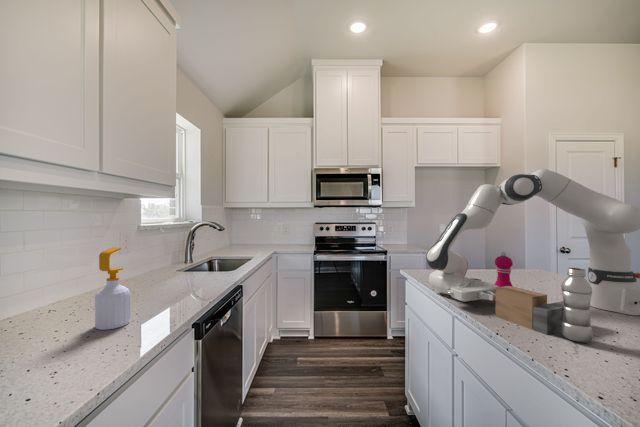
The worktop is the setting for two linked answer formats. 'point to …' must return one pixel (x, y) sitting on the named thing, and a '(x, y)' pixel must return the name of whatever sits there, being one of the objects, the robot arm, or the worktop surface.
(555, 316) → the charcoal board
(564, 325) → the silver metal bottle
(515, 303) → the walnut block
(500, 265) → the pepper mill
